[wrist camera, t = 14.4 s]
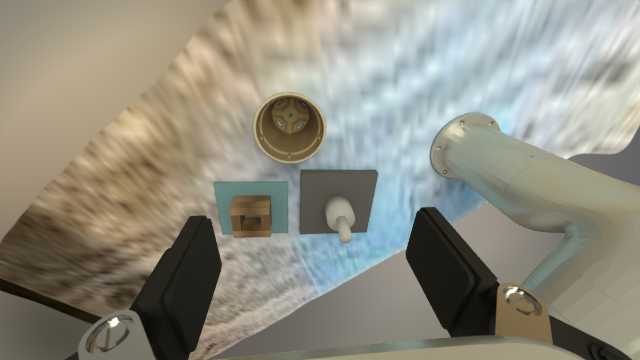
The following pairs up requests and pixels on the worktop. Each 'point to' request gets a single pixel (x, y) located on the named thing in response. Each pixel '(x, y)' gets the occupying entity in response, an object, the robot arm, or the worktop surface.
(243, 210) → the walnut link
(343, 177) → the stand
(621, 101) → the worktop surface
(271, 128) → the flower pot
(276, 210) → the mat
